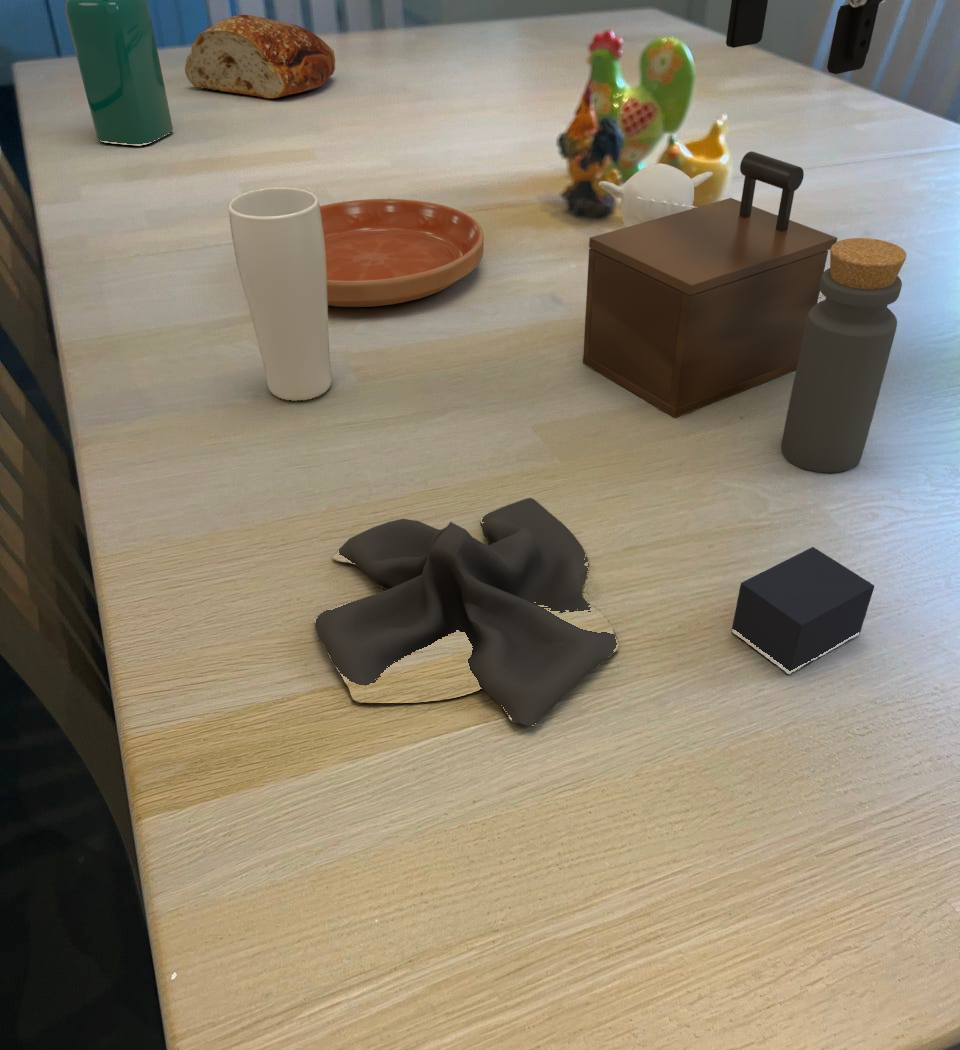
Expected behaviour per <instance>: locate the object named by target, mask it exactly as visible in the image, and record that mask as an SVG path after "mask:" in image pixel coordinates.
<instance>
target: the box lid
mask: <svg viewBox="0 0 960 1050" xmlns="http://www.w3.org/2000/svg"><path fill="white" fill-rule="evenodd" d="M739 172H740V174H741V175H742V176H744V180H743V186H742V192H741V200H737V199H735V198H732V197H729V198H726V199H722V200H718V201H715V202H711V203H708V204H704V205H700V206H696V207H694V208H692V209H690V210H686V211H683V212H679V213H675V214H672V215H668V216H665V217H661V218H658V219H654V220H651V221H647V222H644V223H640V224H636V225H633V226H629V227H626V228H624V227H622V228H618V229H615V230H612V231H608V232H605V233H601V234H598V235H597V234H596V235H594V236H591V237H589V242H588V248H589V249H590V248H591V249H593V250H595V251H598V252H600V253H602V254H604V255H606V256H608V257H610V258H612V259H614V260H616V261H619V262H621V263H623V264H625V265H627V266H629V267H631V268H633V269H635V270H638V271H640V272H642V273H644V274H646V275H648V276H650V277H652V278H654V279H656V280H659V281H661V282H663V283H665V284H667V285H669V286H671V287H673V288H675V289H677V290H680V291H682V292H684V293H686V294H688V295H694V294H697V293H700V292H703V291H706V290H709V289H712V288H715V287H718V286H721V285H724V284H727V283H730V282H733V281H736V280H739V279H742V278H745V277H748V276H751V275H754V274H757V273H760V272H763V271H766V270H769V269H772V268H775V267H778V266H782V265H785V264H788V263H791V262H794V261H797V260H800V259H803V258H806V257H809V256H812V255H815V254H818V253H821V252H824V251H830V249H831V247H832V245H833V244H834V243H836V242H838V237H836V236H834V235H831V234H828V233H827V232H824V231H821V230H817V229H815V228H812V227H810V226H807V225H805V224H801V223H799V222H796V221H794V220H791V214H792V207H793V200H794V196H795V192H796V191H797V190H798V189H799V188H800V187H801V186H802V183H803V180H804V176H805V172H804V169H803V168H802V167H801V166H799V165H795V164H792V163H790V162H786V161H783V160H780V159H778V158H774V157H771V156H768V155H765V154H762V153H759V152H756V151H752V150H750V151H748V152H746V153H745V154H744V155H743V157H742V159H741V161H740V163H739ZM757 181H759V182H762V183H764V184H767V185H769V186H773V187H776V188H777V189H780V190H781V195H780V202H779V207H778V213H777V214H775V213H772V212H770V211H767V210H765V209H762V208H759V207H756V206H753V203H754V196H755V191H756V183H757Z"/></svg>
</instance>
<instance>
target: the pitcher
mask: <svg viewBox="0 0 960 1050" xmlns="http://www.w3.org/2000/svg"><path fill="white" fill-rule="evenodd" d="M64 11H65V15H66V19H67V23H68V27H69V31H70V35H71V39H72V43H73V47H74V51H75V55H76V59H77V65H78V67H79V71H80V75H81V79H82V83H83V87H84V92H85V96H86V99H87V103H88V108H89V112H90V116H91V120H92V124H93V127H94V131H95V136H96V139H97V140H98V141H99V140H101V141H108V142H117V143H127V144H143V143H149V142H153V141H154V140H157V139H158V138H161V137H163V136H164V135H166V134H168V133H170V132H172V133H173V131H174V126H173V120H172V116H171V112H170V107H169V101H168V96H167V92H166V86H165V81H164V76H163V71H162V68H161V66H162V65H161V62H160V56H159V53H158V47H157V46H158V45H157V42H156V37H155V32H154V27H153V22H152V16H151V12H150V6H149V3H148V0H66V1H65V6H64ZM172 130H173V131H172Z"/></svg>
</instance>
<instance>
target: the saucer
mask: <svg viewBox="0 0 960 1050" xmlns="http://www.w3.org/2000/svg"><path fill="white" fill-rule="evenodd" d="M319 206H320V212H321V218H322V224H323V231H324V239H325V250H326V267H327V298H328V306H331V307H343V308H366V307H369V308H371V307H381V306H382V307H383V306H390V305H396V304H403V303H406V302H411V301H414V300H419V299H422V298H425V297H429V296H432V295H434V294H436V293H439V292H441V291H443V290H445V289H447V288H449V287H451V286H452V285H454V284H455V283H456V282H457V281H459V280H461V279H462V278H464V277H466V276H467V275H469V274H470V273H471V272H472V271H474V270H475V268H477V267H478V265H480V262H481V260H482V258H483V257H484V256H483V255H484V236H485V235H484V230H483V227H482V226H481V224H480V223H479V222H478V220H476V219H475V218H474V217H472V216H471V215H470V214H468V213H465V211H461V210H459V209H456V208H455V207H451V206H447V205H443V204H440V203H436V202H430V201H422V200H416V199H406V198H405V199H403V198H402V199H401V198H371V199H370V198H368V199H355V200H346V201H339V202H334V203H328V204H323V205H319Z"/></svg>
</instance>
